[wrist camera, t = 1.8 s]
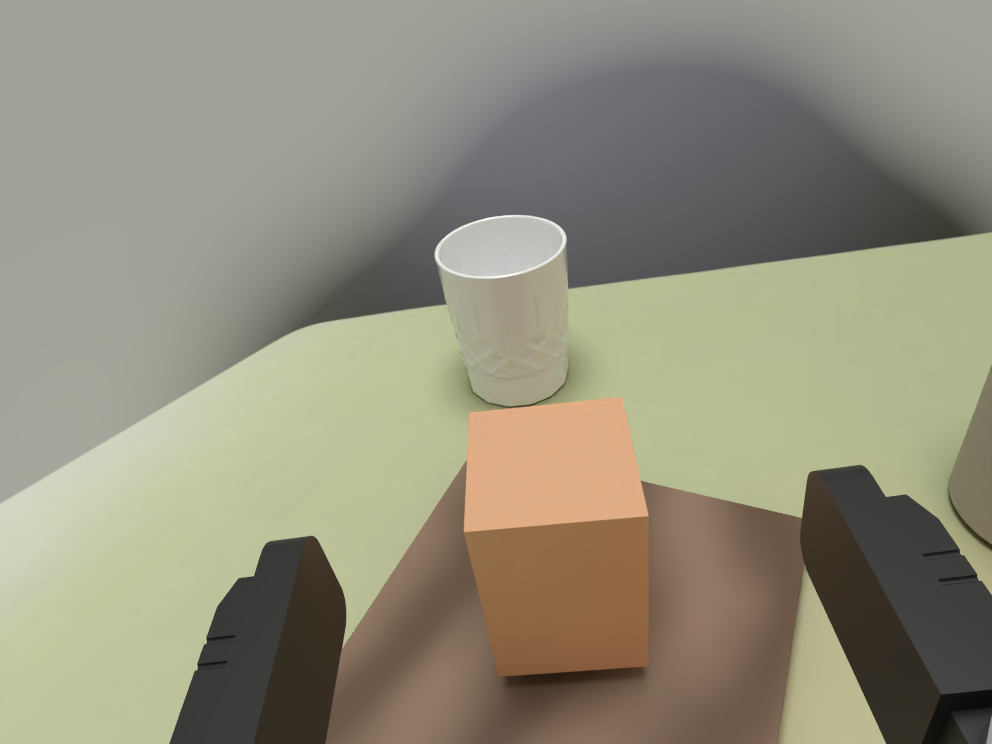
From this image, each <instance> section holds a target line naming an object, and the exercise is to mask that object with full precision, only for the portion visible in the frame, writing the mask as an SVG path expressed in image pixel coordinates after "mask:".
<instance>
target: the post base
mask: <svg viewBox="0 0 992 744" xmlns="http://www.w3.org/2000/svg"><path fill="white" fill-rule="evenodd" d="M466 473H467V460H466V462H465V463H464V465H463V466H462V468H461V470H460V471H459V473H458V474H457V476H456V477H455V479H454V480H453V482H452V483H451V485H450V486H449V488H448V489H447V491H446V492H445V494H444V495H443V497H442V498H441V500H440V501H439V503H438V504H437V506H436V507H435V509H434V511H433V512H432V514H431V515H430V517H429V518H428V520H427V521H426V523H425V524H424V526H423V527H422V529H421V530H420V532H419V533H418V535H417V536H416V538H415V539H414V541H413V542H412V544H411V545H410V547H409V548H408V550H407V551H406V553H405V555H404V556H403V558H402V559H401V561H400V562H399V564H398V565H397V567H396V568H395V570H394V571H393V573H392V574H391V576H390V577H389V579H388V580H387V582H386V583H385V585H384V586H383V588H382V589H381V591H380V592H379V594H378V596H377V597H376V599H375V600H374V602H373V603H372V605H371V606H370V608H369V609H368V611H367V612H366V614H365V615H364V617H363V618H362V620H361V621H360V623H359V624H358V626H357V627H356V629H355V630H354V632H353V633H352V635H351V637H350V638H349V640H348V641H347V643H346V644H345V646H344V647H343V649H342V651H341V656H340V662H339V668H338V674H337V679H336V685H335V691H334V697H333V703H332V708H331V714H330V720H329V726H328V731H327V737H326V743H325V744H777V741H778V734H779V728H780V721H781V714H782V707H783V701H784V694H785V687H786V680H787V674H788V667H789V660H790V653H791V647H792V640H793V633H794V626H795V620H796V613H797V606H798V599H799V593H800V586H801V579H802V572H803V566H804V560H803V556H802V551H801V545H800V530H801V523H802V518H799V517H795V516H791V515H786V514H782V513H778V512H773V511H769V510H765V509H760V508H756V507H751V506H747V505H743V504H738V503H734V502H730V501H725V500H721V499H717V498H712V497H708V496H704V495H699V494H695V493H690V492H686V491H682V490H677V489H673V488H669V487H664V486H660V485H656V484H651V483H647V482H643V481H641V484H642V489H643V493H644V497H645V502H646V506H647V511H648V515H649V666H645V667H631V668H617V669H602V670H588V671H574V672H560V673H545V674H531V675H517V676H502V677H499V674H498V670H497V666H496V662H495V658H494V654H493V650H492V646H491V642H490V638H489V633H488V629H487V625H486V621H485V617H484V613H483V609H482V605H481V601H480V597H479V593H478V589H477V584H476V580H475V576H474V572H473V568H472V564H471V560H470V556H469V552H468V548H467V544H466V540H465V535H464V515H465V494H466Z"/></svg>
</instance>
